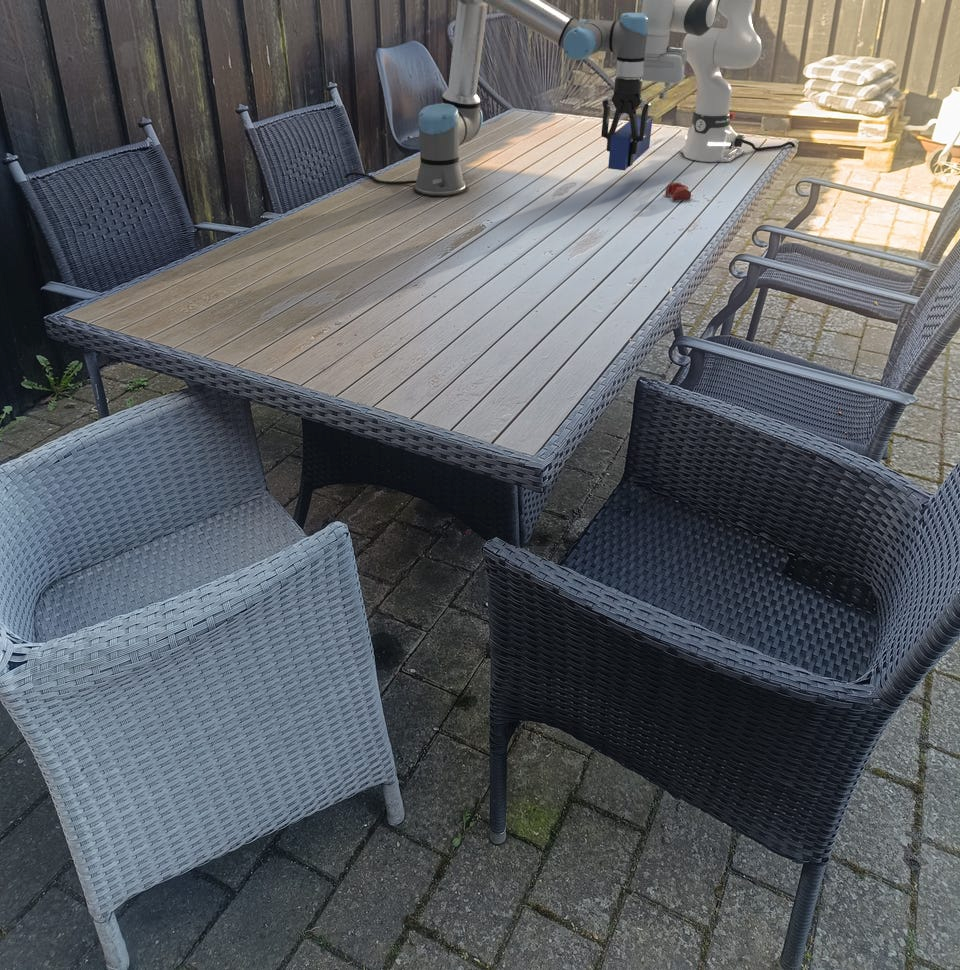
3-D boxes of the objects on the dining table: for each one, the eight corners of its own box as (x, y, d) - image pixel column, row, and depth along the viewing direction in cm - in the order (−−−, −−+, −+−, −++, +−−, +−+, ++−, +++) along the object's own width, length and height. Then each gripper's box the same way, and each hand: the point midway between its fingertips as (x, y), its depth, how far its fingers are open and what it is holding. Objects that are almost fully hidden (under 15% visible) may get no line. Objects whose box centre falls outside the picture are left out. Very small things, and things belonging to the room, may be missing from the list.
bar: (624, 170, 242) (628, 137, 237) (608, 168, 244) (611, 135, 239) (649, 147, 263) (652, 116, 258) (633, 146, 265) (636, 115, 259)
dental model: (681, 178, 253) (693, 186, 247) (680, 192, 255) (692, 200, 249) (664, 180, 252) (676, 188, 246) (663, 194, 254) (674, 202, 248)
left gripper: (664, 77, 232) (654, 164, 246) (601, 72, 238) (594, 157, 252) (657, 82, 227) (647, 171, 240) (593, 76, 233) (587, 163, 246)
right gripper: (690, 47, 244) (683, 98, 252) (622, 42, 251) (617, 92, 258) (685, 49, 239) (678, 102, 247) (616, 44, 246) (611, 95, 254)
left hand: (620, 164), depth 246 cm, fingers closed on bar, 5 cm apart
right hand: (646, 97), depth 253 cm, fingers open, 8 cm apart
